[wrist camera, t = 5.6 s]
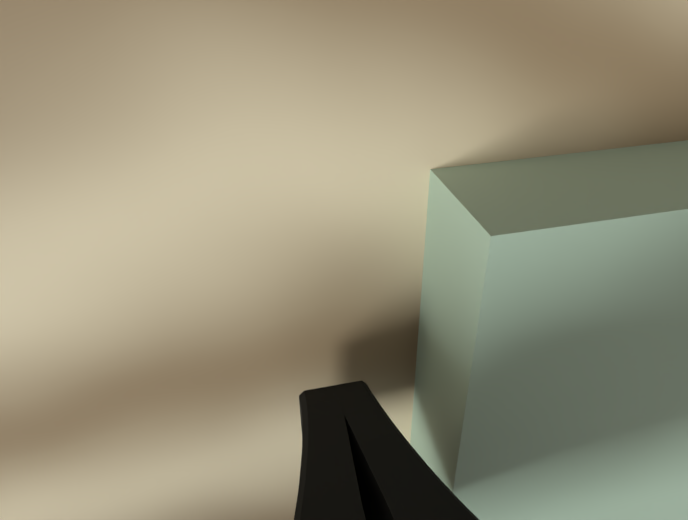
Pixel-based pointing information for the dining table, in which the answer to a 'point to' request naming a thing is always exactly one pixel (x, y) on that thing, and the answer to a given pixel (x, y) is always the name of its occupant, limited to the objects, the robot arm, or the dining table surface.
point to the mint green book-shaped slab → (558, 335)
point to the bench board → (259, 217)
